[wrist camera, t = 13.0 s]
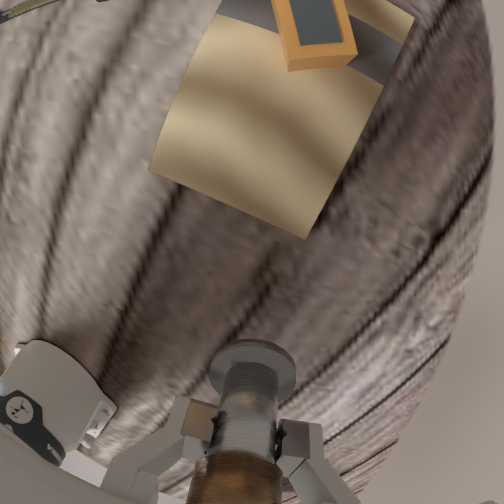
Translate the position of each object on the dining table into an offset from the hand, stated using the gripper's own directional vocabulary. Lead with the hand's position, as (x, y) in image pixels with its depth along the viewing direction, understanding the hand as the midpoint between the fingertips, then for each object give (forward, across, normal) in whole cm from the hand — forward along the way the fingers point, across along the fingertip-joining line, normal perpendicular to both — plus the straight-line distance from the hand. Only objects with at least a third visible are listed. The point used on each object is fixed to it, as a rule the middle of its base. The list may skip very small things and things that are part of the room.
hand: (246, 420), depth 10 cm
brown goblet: (+3, 0, 0) cm, 3 cm away
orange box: (+15, +1, -17) cm, 23 cm away
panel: (+16, +2, -13) cm, 21 cm away
